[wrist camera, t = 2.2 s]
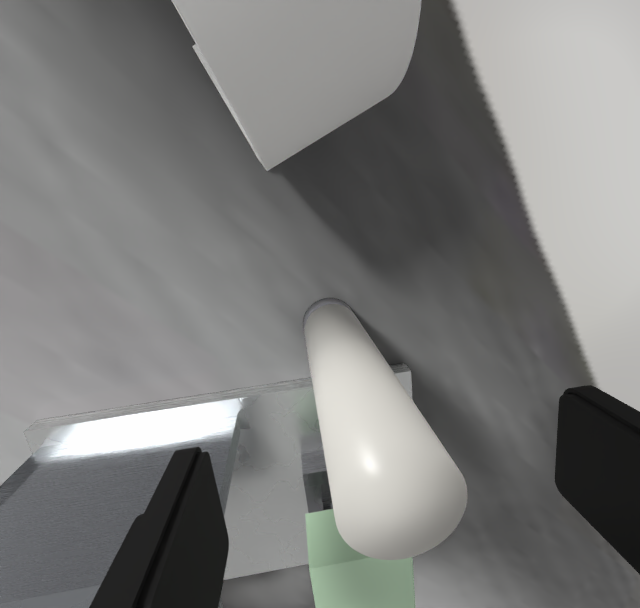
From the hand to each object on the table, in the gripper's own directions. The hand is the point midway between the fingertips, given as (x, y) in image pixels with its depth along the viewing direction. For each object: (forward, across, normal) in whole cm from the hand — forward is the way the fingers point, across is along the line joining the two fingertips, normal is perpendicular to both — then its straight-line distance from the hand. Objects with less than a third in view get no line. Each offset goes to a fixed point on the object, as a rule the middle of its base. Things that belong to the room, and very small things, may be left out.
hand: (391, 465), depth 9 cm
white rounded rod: (+10, 0, -1) cm, 10 cm away
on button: (+7, +1, +8) cm, 11 cm away
